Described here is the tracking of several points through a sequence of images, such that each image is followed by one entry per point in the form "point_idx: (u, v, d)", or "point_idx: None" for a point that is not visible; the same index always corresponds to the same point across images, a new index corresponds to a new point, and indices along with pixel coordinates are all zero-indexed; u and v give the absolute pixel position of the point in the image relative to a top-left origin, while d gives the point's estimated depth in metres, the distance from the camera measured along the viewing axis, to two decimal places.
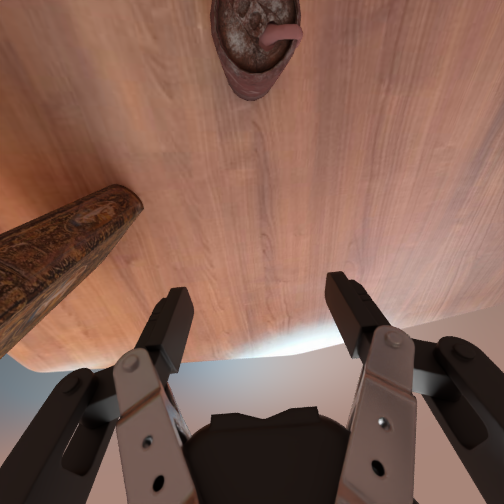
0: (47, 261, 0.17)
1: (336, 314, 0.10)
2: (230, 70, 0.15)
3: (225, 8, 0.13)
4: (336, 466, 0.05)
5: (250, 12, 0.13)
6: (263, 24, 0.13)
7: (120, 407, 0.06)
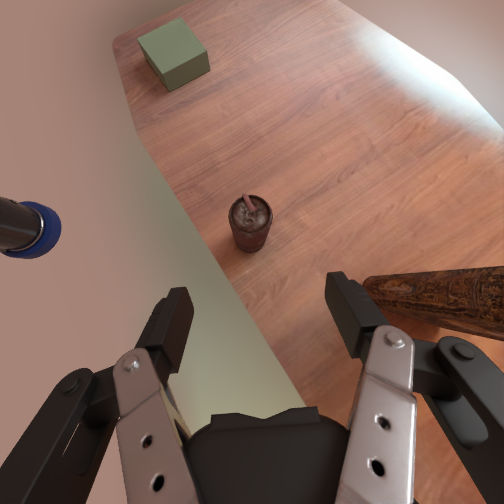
0: (457, 277, 0.22)
1: (336, 314, 0.10)
2: None
3: (253, 229, 0.27)
4: (336, 466, 0.05)
5: (249, 217, 0.27)
6: (249, 211, 0.27)
7: (120, 407, 0.06)
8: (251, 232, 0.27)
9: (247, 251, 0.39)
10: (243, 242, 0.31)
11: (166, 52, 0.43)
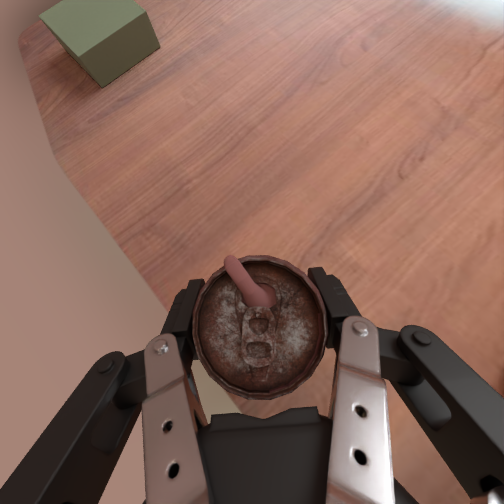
0: None
1: None
2: (327, 324, 0.09)
3: (276, 374, 0.08)
4: (322, 464, 0.05)
5: (257, 336, 0.08)
6: (253, 311, 0.09)
7: (147, 387, 0.07)
8: (270, 388, 0.08)
9: None
10: None
11: (84, 25, 0.27)
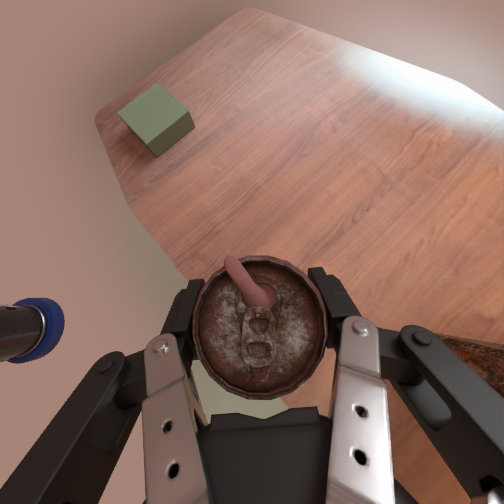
0: None
1: None
2: (327, 324, 0.09)
3: (276, 374, 0.08)
4: (322, 465, 0.05)
5: (257, 337, 0.08)
6: (253, 311, 0.09)
7: (147, 387, 0.07)
8: (270, 388, 0.08)
9: None
10: None
11: (148, 120, 0.41)
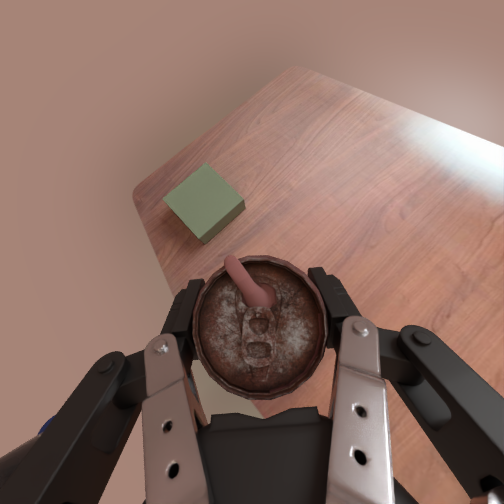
0: None
1: None
2: (327, 324, 0.09)
3: (276, 374, 0.08)
4: (323, 465, 0.05)
5: (257, 336, 0.08)
6: (253, 311, 0.09)
7: (147, 387, 0.07)
8: (270, 388, 0.08)
9: None
10: None
11: (198, 209, 0.37)
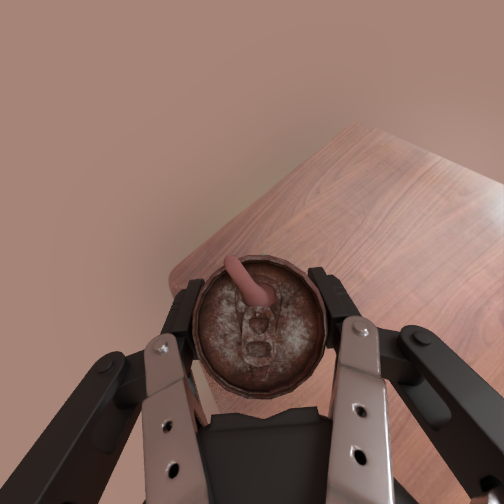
0: None
1: None
2: (327, 324, 0.09)
3: (276, 373, 0.08)
4: (322, 465, 0.05)
5: (257, 336, 0.08)
6: (253, 311, 0.09)
7: (147, 387, 0.07)
8: (270, 387, 0.08)
9: None
10: None
11: None
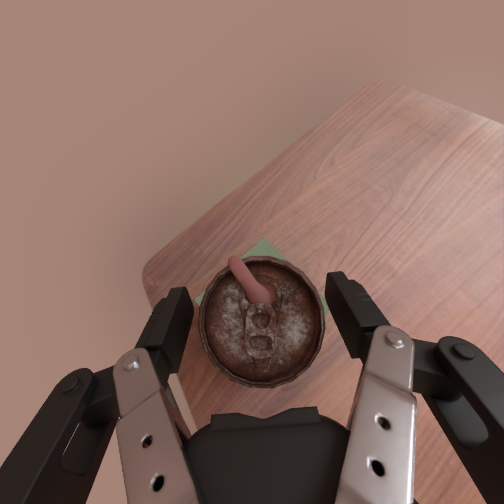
0: None
1: (336, 314, 0.10)
2: (324, 320, 0.09)
3: (277, 365, 0.09)
4: (336, 466, 0.05)
5: (259, 331, 0.09)
6: (255, 308, 0.09)
7: (120, 407, 0.06)
8: (271, 378, 0.09)
9: None
10: None
11: None
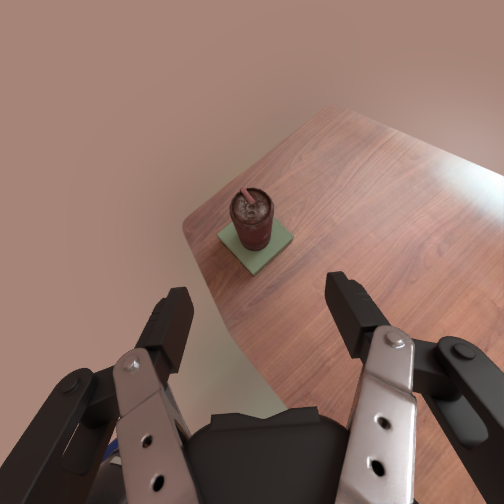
0: None
1: (336, 314, 0.10)
2: (273, 209, 0.27)
3: (256, 220, 0.26)
4: (336, 466, 0.05)
5: (250, 210, 0.27)
6: (249, 204, 0.27)
7: (120, 407, 0.06)
8: (254, 224, 0.26)
9: (254, 249, 0.38)
10: (248, 238, 0.31)
11: None
